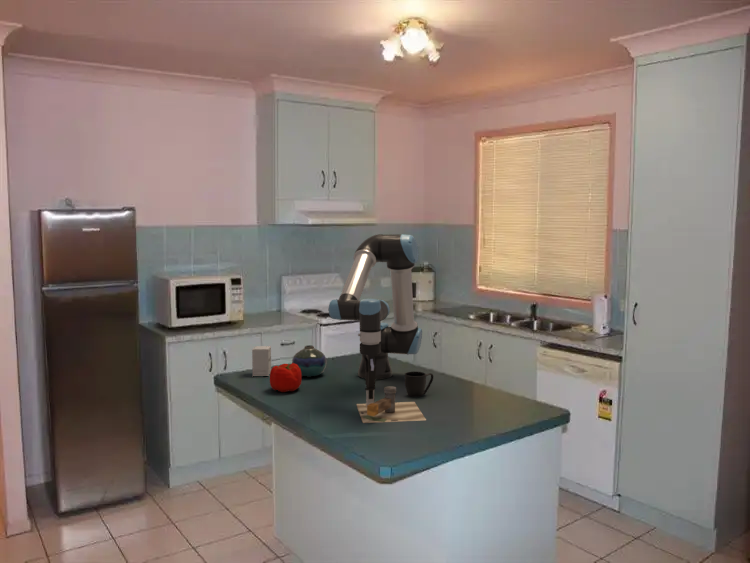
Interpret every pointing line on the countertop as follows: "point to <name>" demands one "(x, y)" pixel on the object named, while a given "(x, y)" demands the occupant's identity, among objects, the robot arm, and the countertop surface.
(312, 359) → the vase
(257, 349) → the supplement box
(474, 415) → the countertop surface
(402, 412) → the dial board
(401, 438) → the countertop surface
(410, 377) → the mug
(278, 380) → the tomato
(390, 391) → the peg lever
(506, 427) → the countertop surface
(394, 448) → the countertop surface
